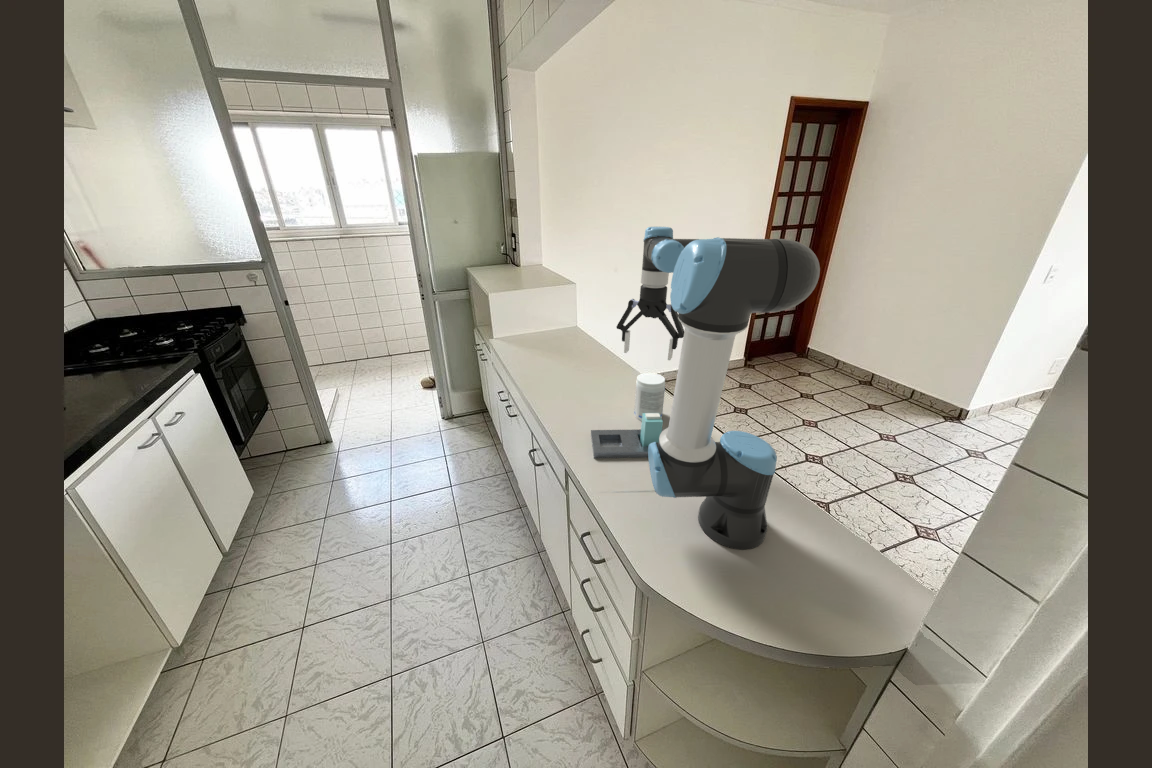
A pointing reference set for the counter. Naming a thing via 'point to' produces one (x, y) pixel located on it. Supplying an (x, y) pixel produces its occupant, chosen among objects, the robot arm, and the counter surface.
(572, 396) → the counter surface
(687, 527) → the counter surface
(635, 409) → the supplement tub
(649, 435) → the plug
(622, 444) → the grey socket board
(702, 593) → the counter surface
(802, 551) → the counter surface
